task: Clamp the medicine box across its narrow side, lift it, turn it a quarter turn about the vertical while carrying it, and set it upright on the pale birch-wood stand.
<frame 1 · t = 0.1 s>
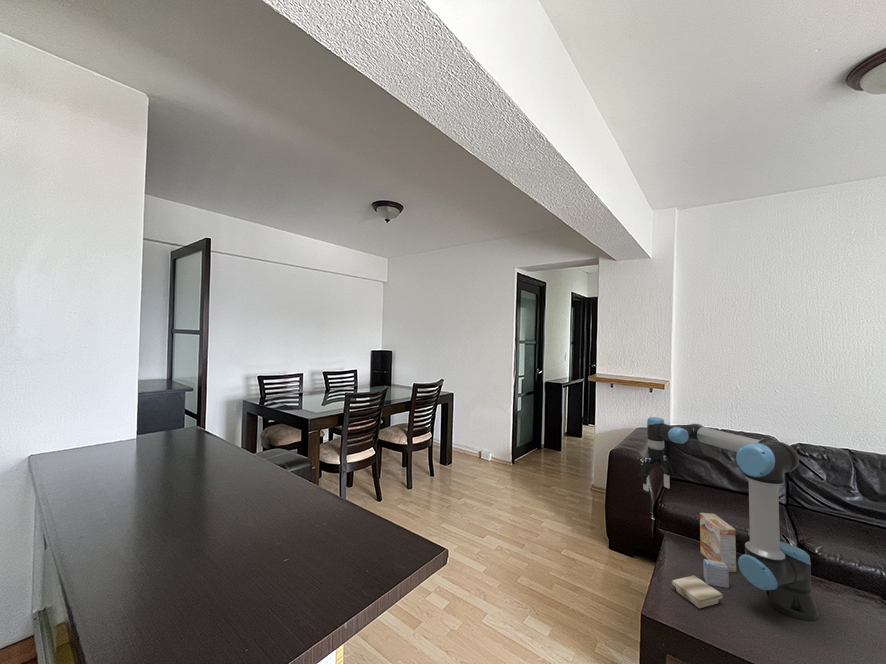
hand: (656, 488, 184), 28 cm above the table, fingers open, 13 cm apart
medicine box: (716, 583, 153), on the table
coffeecake box: (717, 562, 168), on the table
stand: (696, 597, 145), on the table
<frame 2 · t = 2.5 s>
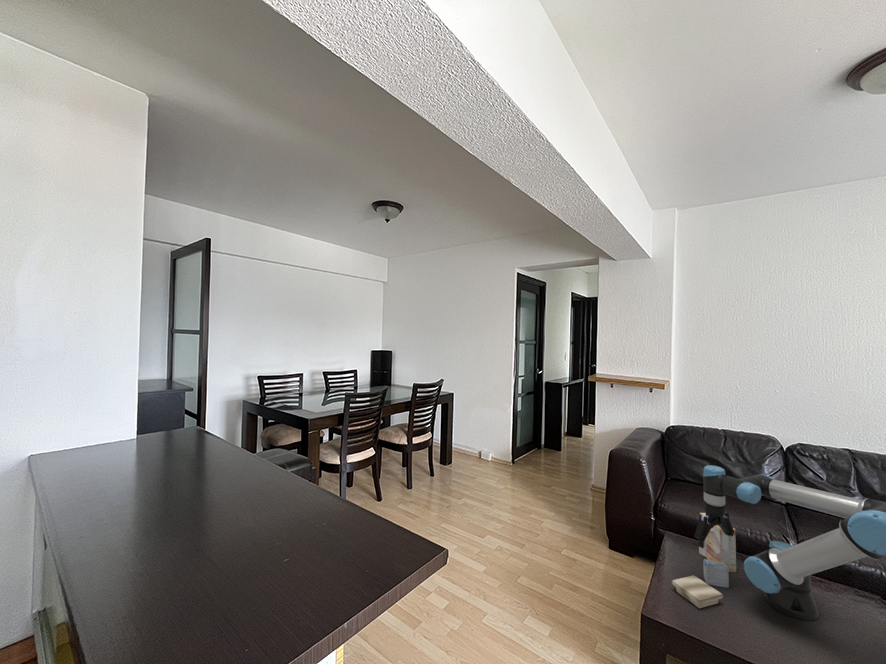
hand: (714, 552, 154), 13 cm above the table, fingers open, 13 cm apart
nothing on the table moved.
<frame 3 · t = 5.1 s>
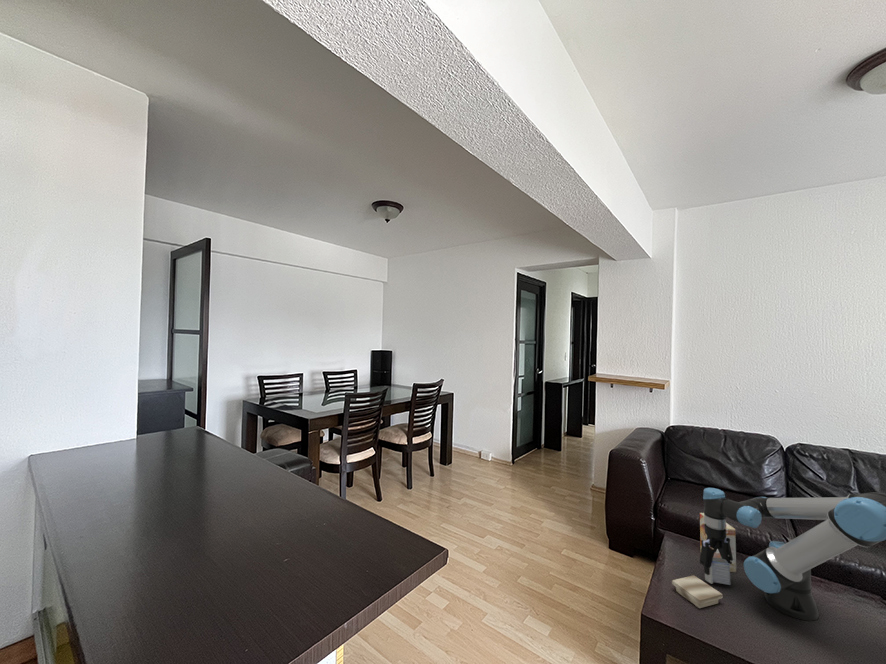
hand: (717, 579, 153), 2 cm above the table, fingers closed on medicine box, 9 cm apart
medicine box: (717, 581, 153), point 1 cm above the table, touching gripper
everything else where it was.
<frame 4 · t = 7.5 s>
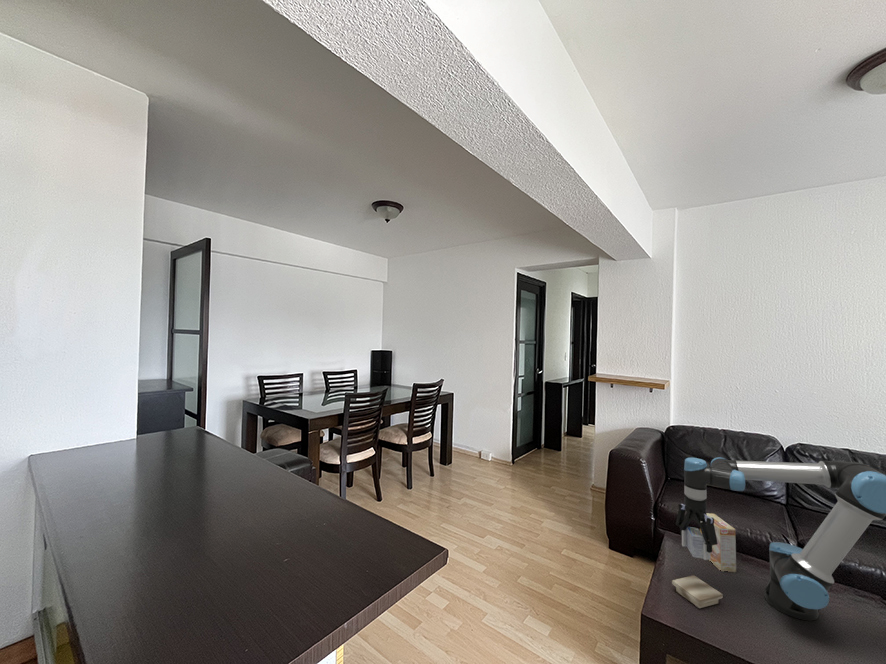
hand: (695, 552, 146), 18 cm above the table, fingers closed on medicine box, 9 cm apart
medicine box: (695, 553, 146), point 17 cm above the table, touching gripper
everything else where it was.
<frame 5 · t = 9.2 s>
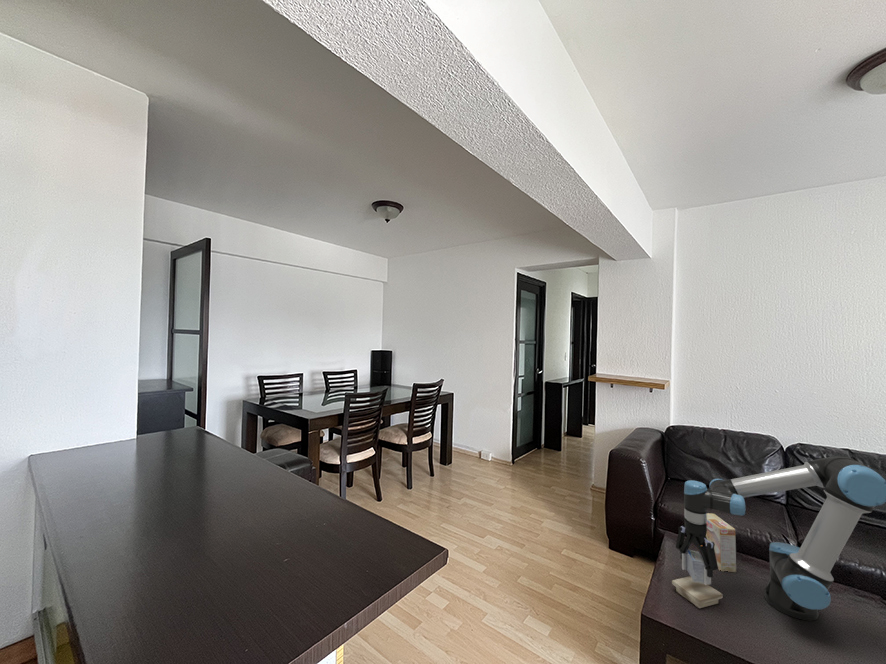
hand: (696, 576, 145), 8 cm above the table, fingers closed on medicine box, 9 cm apart
medicine box: (695, 577, 145), point 8 cm above the table, touching gripper
everything else where it was.
when the fingers open (6 cm above the table, at t = 10.2 s): medicine box drops 2 cm, resting on stand.
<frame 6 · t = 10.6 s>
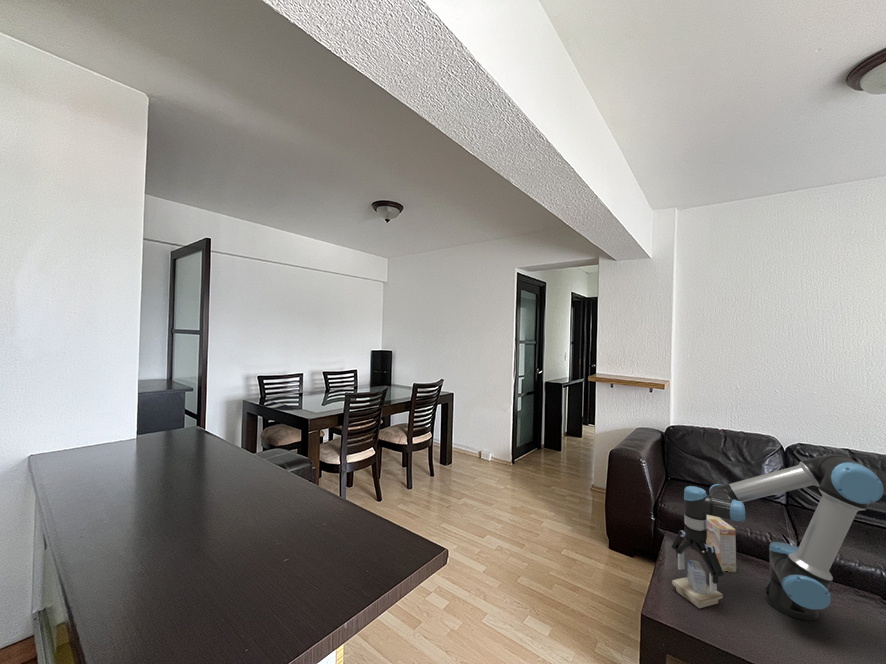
hand: (696, 579, 145), 7 cm above the table, fingers open, 13 cm apart
medicine box: (696, 587, 145), point 4 cm above the table, touching stand
everything else where it was.
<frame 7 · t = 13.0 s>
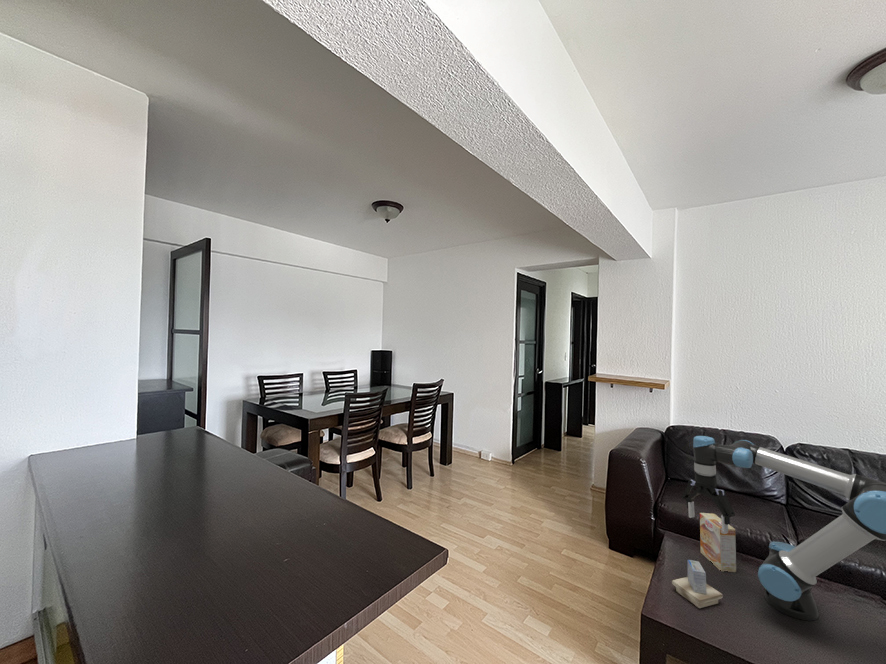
hand: (707, 524, 151), 27 cm above the table, fingers open, 13 cm apart
nothing on the table moved.
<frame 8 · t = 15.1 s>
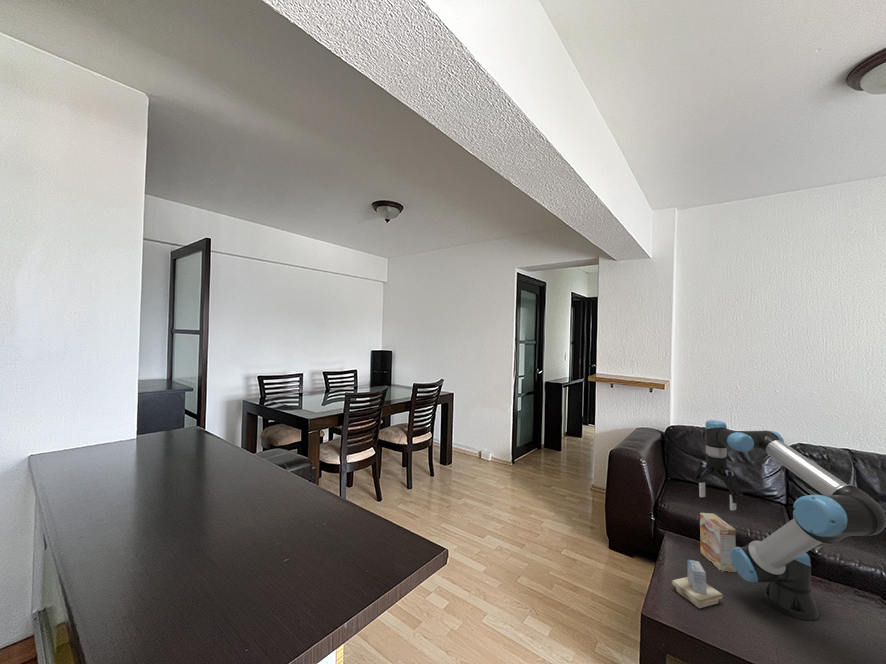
hand: (717, 503, 160), 32 cm above the table, fingers open, 13 cm apart
nothing on the table moved.
at the end: medicine box inside the target area on the stand (0.1 cm from its centre), point 3.8 cm above the stand's base; medicine box tilted 0°; the gripper is holding nothing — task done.
